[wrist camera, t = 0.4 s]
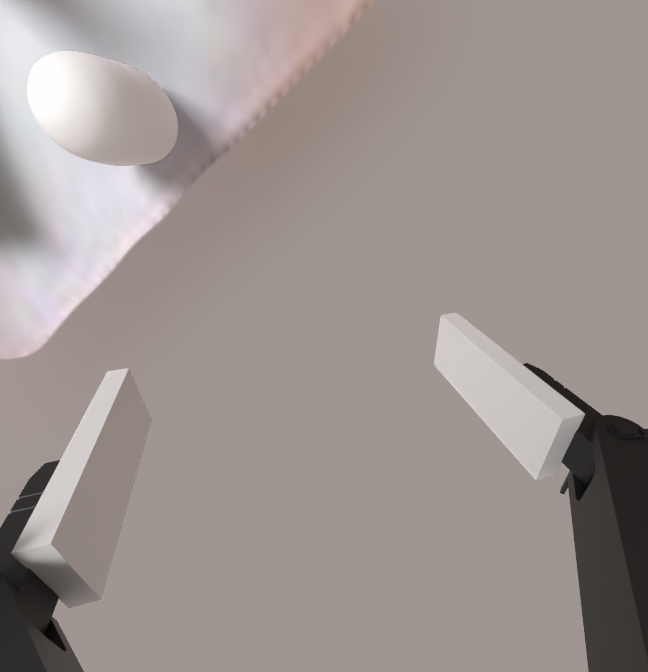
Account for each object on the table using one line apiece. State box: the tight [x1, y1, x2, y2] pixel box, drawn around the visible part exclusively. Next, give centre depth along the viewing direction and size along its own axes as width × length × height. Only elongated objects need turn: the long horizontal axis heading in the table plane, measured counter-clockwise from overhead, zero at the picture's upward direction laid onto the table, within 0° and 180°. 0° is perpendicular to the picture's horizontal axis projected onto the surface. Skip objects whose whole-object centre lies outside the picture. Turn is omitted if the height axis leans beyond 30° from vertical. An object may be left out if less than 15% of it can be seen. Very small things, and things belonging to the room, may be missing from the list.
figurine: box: [27, 51, 178, 166], centre depth 25 cm, size 7×8×12 cm
